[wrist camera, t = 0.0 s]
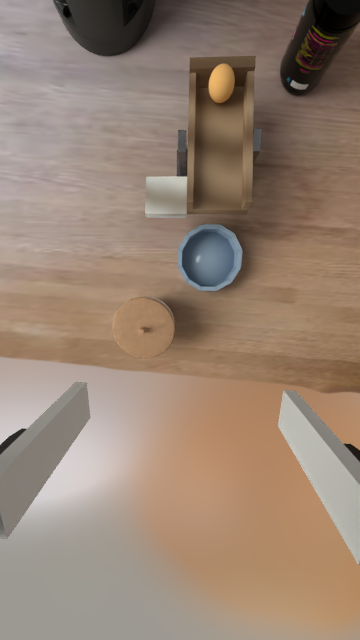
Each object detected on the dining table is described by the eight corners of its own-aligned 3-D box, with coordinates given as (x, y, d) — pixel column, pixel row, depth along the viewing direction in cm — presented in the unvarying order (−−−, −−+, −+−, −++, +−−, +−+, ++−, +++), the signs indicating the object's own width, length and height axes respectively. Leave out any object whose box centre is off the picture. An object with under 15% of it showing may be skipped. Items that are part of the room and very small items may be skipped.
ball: (207, 90, 27) (210, 55, 23) (231, 89, 27) (237, 54, 23) (207, 110, 26) (209, 78, 23) (231, 110, 26) (237, 77, 23)
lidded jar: (187, 312, 40) (187, 323, 31) (159, 352, 43) (151, 374, 34) (143, 282, 39) (129, 285, 30) (116, 325, 42) (96, 339, 33)
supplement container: (329, 45, 30) (400, -71, 20) (316, 100, 32) (375, 18, 21) (284, 40, 30) (332, -78, 20) (273, 95, 32) (313, 11, 21)
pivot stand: (177, 151, 34) (173, 108, 25) (248, 150, 33) (269, 106, 25) (176, 197, 36) (172, 172, 27) (244, 197, 35) (263, 171, 26)
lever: (150, 87, 28) (146, 59, 25) (248, 85, 27) (255, 56, 24) (146, 217, 27) (141, 204, 24) (245, 217, 27) (253, 204, 24)
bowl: (179, 228, 37) (178, 224, 33) (239, 228, 36) (244, 224, 33) (178, 288, 39) (177, 290, 36) (234, 289, 39) (239, 291, 35)
